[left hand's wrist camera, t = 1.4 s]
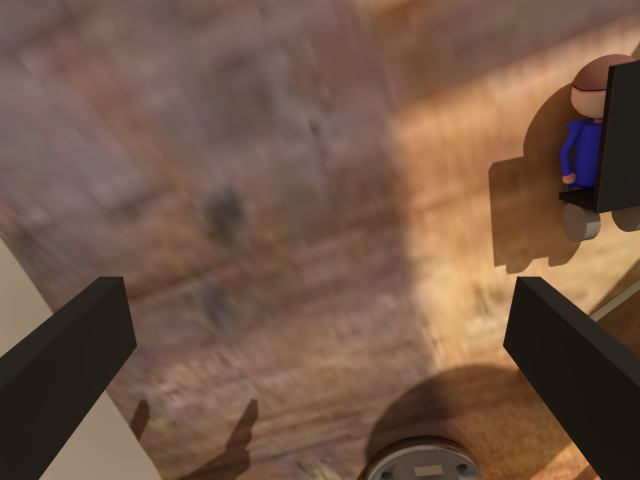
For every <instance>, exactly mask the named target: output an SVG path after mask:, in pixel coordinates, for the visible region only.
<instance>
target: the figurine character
mask: <svg viewBox="0 0 640 480" xmlns="http://www.w3.org/2000/svg"><path fill="white" fill-rule="evenodd" d="M570 98H571V102H572V104H573V106H574V108H575V109H576V110H577V111H578V112H579V113H581V114H582V115H584V116H587V117H590V118H589V119H585V120H582V121H579V120H575V121H572V122H570V123H569V125H568V129H569V131H570V133H569V135H568V137H567V139H566V141H565V143H564V145H563V147H562V148H561V150H560V152H559V153H560V160H561V167H562V173H563V177H562V180H563V182H564V183H565V192H562V193H559V199H560V200H563V203H564V204H565V208H564V210H563V213H562V224H563V228H564V231H565V233H566V234H567V236H568V237H569V238H570V239H571V240H573V241H575V242H578V241H584V240H590V239H593V238H595V237H596V236H597V235H598V233H599V230H600V224H601V222H600V215H599V213H604V212H609V211H612V217H613V220H614V222H615V224H616V225H617V226H618V227H619V228H620V229H621V230H623V231H625V232H632V231H637V230H640V60H636V59H634V58H632V57H630V56H627V55H621V54H614V55H607V56H603V57H600V58H598V59H595V60H594V61H592V62H590V63H589V64H587V65H586V66H585V67H584V68H582V69H581V70H580V72H579V73H578V74H577V75H576V77H575V79H574V80H573V83H572V85H571V90H570ZM575 141H576V143H575ZM574 143H575V152H574V161H573V169H572V172H571V165H570V158H569V152H570V150H571V148H572V146H573V144H574ZM572 187H574V188H584V189H578V190H573V191H572Z"/></svg>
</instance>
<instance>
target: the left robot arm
mask: <svg viewBox="0 0 640 480" xmlns="http://www.w3.org/2000/svg"><path fill="white" fill-rule="evenodd" d="M136 347H137V343H136V338H135V333H134V329H133V324H132V319H131V314H130V309H129V304H128V300H127V295H126V290H125V285H124V280H123V277H99V278H98V279H96V280H95V281H94V282H93V283H91V284H90V285H89V286H88V287H87V288H85V289H84V290H83V291H82V292H80V293H79V294H78V295H77V296H75V297H74V298H73V299H72V300H71V301H69V302H68V303H67V304H66V305H64V306H63V307H62V308H61V309H60V310H58V311H57V312H56V313H55V314H53V315H52V316H51V317H50V318H48V319H47V320H46V321H45V322H44V323H42V324H41V325H40V326H39V327H37V328H36V329H35V330H34V331H33V332H31V333H30V334H29V335H28V336H26V337H25V338H24V339H23V340H21V341H20V342H19V343H18V344H17V345H15V346H14V347H13V348H12V349H11V350H9V351H8V352H7V353H6V354H4V355H3V356H2V357H1V358H0V480H39V478H40V477H41V476H42V474H43V473H44V472H45V470H46V469H47V468H48V466H49V465H50V464H51V462H52V461H53V459H54V458H55V457H56V455H57V454H58V453H59V451H60V450H61V449H62V447H63V446H64V444H65V443H66V442H67V440H68V439H69V438H70V436H71V435H72V434H73V432H74V431H75V430H76V428H77V427H78V426H79V424H80V423H81V421H82V420H83V419H84V417H85V416H86V415H87V413H88V412H89V411H90V409H91V408H92V406H93V405H94V404H95V402H96V401H97V400H98V398H99V397H100V396H101V394H102V393H103V392H104V390H105V389H106V387H107V386H108V385H109V383H110V382H111V381H112V379H113V378H114V377H115V375H116V374H117V372H118V371H119V370H120V368H121V367H122V366H123V364H124V363H125V362H126V360H127V359H128V358H129V356H130V355H131V353H132V352H133V351H134V349H135V348H136ZM503 347H504V348H505V349H506V351H507V352H508V353H509V355H510V356H511V358H512V359H513V360H514V362H515V363H516V364H517V366H518V367H519V368H520V370H521V371H522V372H523V374H524V375H525V377H526V378H527V379H528V381H529V382H530V383H531V385H532V386H533V387H534V389H535V390H536V392H537V393H538V394H539V396H540V397H541V398H542V400H543V401H544V402H545V404H546V405H547V406H548V408H549V409H550V411H551V412H552V413H553V415H554V416H555V417H556V419H557V420H558V421H559V423H560V424H561V426H562V427H563V428H564V430H565V431H566V432H567V434H568V435H569V436H570V438H571V439H572V440H573V442H574V443H575V445H576V446H577V447H578V449H579V450H580V451H581V453H582V454H583V455H584V457H585V458H586V459H587V461H588V462H589V464H590V465H591V466H592V468H593V469H594V470H595V472H596V473H597V474H598V476H599V477H600V479H601V480H640V358H639V357H638V356H637V355H636V354H634V353H633V352H632V351H631V350H630V349H628V348H627V347H626V346H625V345H623V344H622V343H621V342H620V341H619V340H617V339H616V338H615V337H614V336H612V335H611V334H610V333H609V332H607V331H606V330H605V329H604V328H603V327H601V326H600V325H599V324H598V323H596V322H595V321H594V320H593V319H592V318H590V317H589V316H588V315H587V314H585V313H584V312H583V311H582V310H580V309H579V308H578V307H577V306H576V305H574V304H573V303H572V302H571V301H569V300H568V299H567V298H566V297H565V296H563V295H562V294H561V293H560V292H558V291H557V290H556V289H555V288H553V287H552V286H551V285H550V284H549V283H547V282H546V281H545V280H544V279H542V278H541V277H517V280H516V285H515V290H514V295H513V300H512V304H511V309H510V314H509V319H508V324H507V329H506V333H505V338H504V343H503ZM365 480H483V479H482V476H481V473H480V471H479V468H478V466H477V464H476V461H475V460H474V458H473V456H472V455H471V454H470V453H469V452H468V451H467V450H466V449H465V448H464V447H462V446H461V445H459V444H457V443H455V442H452V441H449V440H446V439H442V438H436V437H417V438H411V439H407V440H403V441H400V442H397V443H395V444H393V445H391V446H389V447H387V448H385V449H384V450H382V451H381V452H380V453H379V454H378V455H377V456H376V457H375V458H374V459H373V460H372V461H371V463H370V464H369V466H368V468H367V470H366V474H365Z"/></svg>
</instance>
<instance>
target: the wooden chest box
mask: <svg viewBox="0 0 640 480" xmlns="http://www.w3.org/2000/svg"><path fill="white" fill-rule="evenodd" d="M589 317H590V318H592V319H593V320H594V321H595V322H596V323H598V324H599V325H600V326H601V327H603V328H604V329H605V330H606V331H607V332H609V333H610V334H611V335H612V336H614V337H615V338H616V339H617V340H619V341H620V342H621V343H622V344H623V345H625V346H626V347H627V348H628V349H630V350H631V351H632V352H633V353H634V354H636V355H637V356H638V357H639V358H640V279H639V280H638V281H636V282H635V283H634V284H632V285H631V286H630V287H628V288H627V289H626V290H624V291H623V292H622V293H620V294H619V295H618V296H616V297H615V298H614V299H612V300H611V301H610V302H608V303H607V304H606V305H604V306H603V307H601V308H600V309H599V310H597V311H596V312H595V313H593V314H592V315H591V316H589Z"/></svg>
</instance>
